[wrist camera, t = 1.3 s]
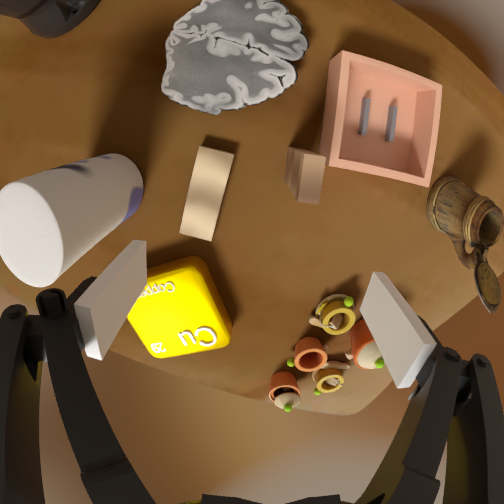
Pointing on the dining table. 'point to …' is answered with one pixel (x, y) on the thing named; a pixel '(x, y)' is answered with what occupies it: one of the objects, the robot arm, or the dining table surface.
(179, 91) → the brain slice
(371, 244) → the dining table surface
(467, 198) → the wooden mug
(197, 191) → the beige wooden plank
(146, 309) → the element tile
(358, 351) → the toy tea set
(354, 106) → the pink open box
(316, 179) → the tall beige block
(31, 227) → the container
